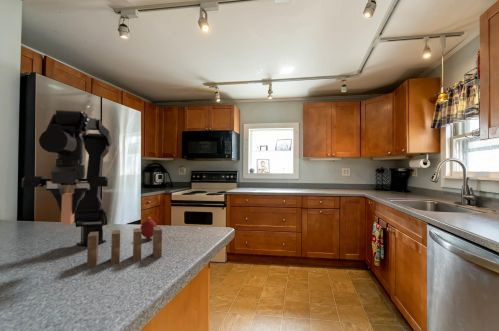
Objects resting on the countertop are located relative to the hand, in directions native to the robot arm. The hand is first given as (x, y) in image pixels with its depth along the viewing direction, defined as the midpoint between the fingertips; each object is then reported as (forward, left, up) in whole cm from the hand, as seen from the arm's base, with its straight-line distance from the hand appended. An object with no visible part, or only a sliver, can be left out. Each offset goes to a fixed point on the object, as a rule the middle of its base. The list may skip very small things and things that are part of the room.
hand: (68, 213), depth 69 cm
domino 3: (+14, +11, -14) cm, 22 cm away
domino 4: (+17, +15, -14) cm, 26 cm away
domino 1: (+6, +3, -14) cm, 15 cm away
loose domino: (0, 0, -3) cm, 2 cm away
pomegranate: (+2, +29, -14) cm, 32 cm away
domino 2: (+10, +7, -14) cm, 18 cm away
